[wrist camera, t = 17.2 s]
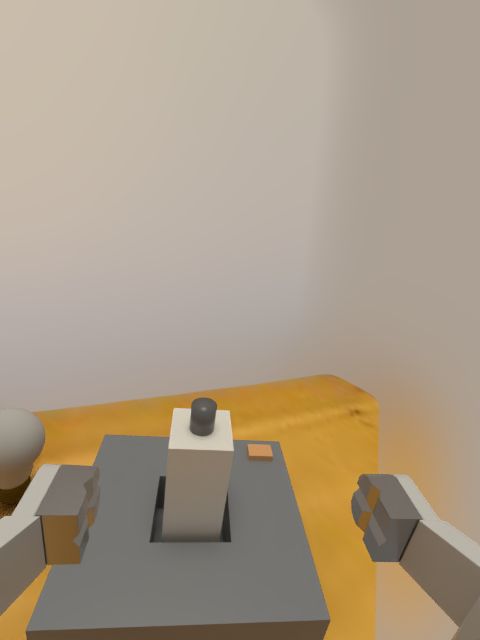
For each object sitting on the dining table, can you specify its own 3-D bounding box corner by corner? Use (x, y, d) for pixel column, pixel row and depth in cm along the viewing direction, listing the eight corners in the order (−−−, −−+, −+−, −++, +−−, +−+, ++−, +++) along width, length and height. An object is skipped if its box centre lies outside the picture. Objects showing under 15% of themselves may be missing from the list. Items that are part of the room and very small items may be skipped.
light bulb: (62, 494, 34) (56, 412, 30) (-3, 539, 29) (-18, 448, 26) (29, 465, 37) (20, 387, 33) (-35, 502, 32) (-53, 416, 28)
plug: (159, 568, 26) (170, 424, 21) (165, 517, 30) (175, 386, 25) (215, 567, 27) (237, 427, 22) (213, 517, 31) (232, 389, 26)
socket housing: (35, 692, 21) (24, 624, 18) (105, 483, 36) (105, 429, 33) (309, 675, 23) (332, 614, 21) (269, 486, 38) (280, 437, 36)
